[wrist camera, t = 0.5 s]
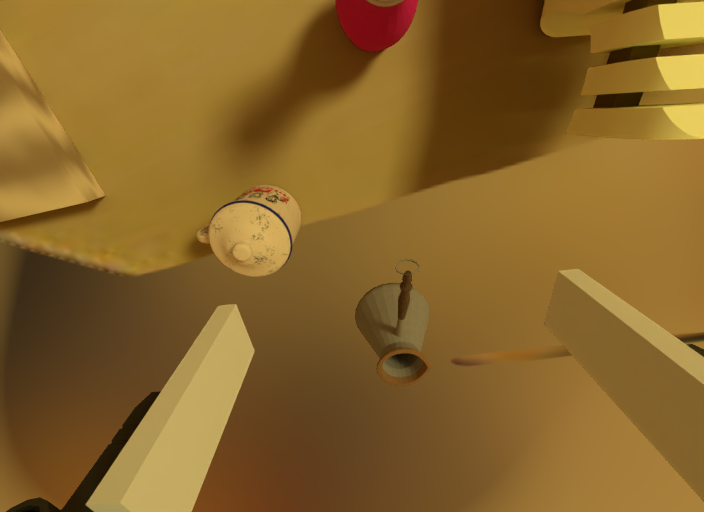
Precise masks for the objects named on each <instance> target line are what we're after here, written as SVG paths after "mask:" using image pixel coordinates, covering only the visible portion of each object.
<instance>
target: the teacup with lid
mask: <svg viewBox="0 0 704 512" xmlns="http://www.w3.org/2000/svg"><path fill="white" fill-rule="evenodd" d="M300 225H301V212H300V209H299V206H298V204H297V202H296V201H295V199H294V198H293V197H292V196H291V195H290V194H289V193H288V192H286V191H285V190H283V189H281V188H279V187H276V186H273V185H258V186H255V187H252V188H250V189H249V190H247V191H246V192H245V193H243V194H242V195H241V196H240V197H238V198H237V199H236V200H234V201H233V202H231V203H228V204H226V205H224V206H223V207H221V208H220V209H219V210H218V211H217V212H216V213H215V214H214V216H213V217H212V219H211V222H210V224H209V225H207V226H204V227H203V228H201V229H200V230H198V231H197V233H196V236H197V239H198V240H199V241H200V242H202V243H210V246H211V248H212V250H213V252H214V254H215V255H216V257H217V258H218V259H219V260H220V262H221V263H223V264H224V265H225V266H226V267H228V268H229V269H231V270H232V271H234V272H236V273H239V274H242V275H246V276H254V277H256V276H265V275H269V274H271V273H274V272H276V271H277V270H279V269H280V268H281V267H283V266H284V264H285V263H286V262H287V260H288V259H289V257H290V254H291V251H292V244H293V242H294V240H295V238H296V235H297V233H298V231H299V229H300Z"/></svg>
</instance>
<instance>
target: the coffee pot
mask: <svg viewBox="0 0 704 512" xmlns="http://www.w3.org/2000/svg"><path fill="white" fill-rule="evenodd" d="M402 261H412V262H414V263H416V264H417V265H418V270H417V271H415V272H413V273H411V272H410V271H406V272H405V273H402V272H400V271H398V269H397V268H396V266H397V264H398V263H400V262H402ZM396 266H395V269H396V270H397V272H398V273H400V274H402V275H404V276H403V282H402V283H388V284H382V285H380V286H377V287H375V288H373V289H371V290H370V291H369V292H367V293H366V294H365V295H364V297H363V298H362V299H361V300H360V302H359V304H358V306H357V308H356V314H355V319H356V323H357V326H358V328H359V329H360V331H361V333H362V334H363V335H364V337H365V338H366V340H367V341H368V342H369V344H370V345H371V346H372V348H373V349H374V351H375V352H376V354H377V355H378V356H379V358H380V360H379V362H378V364H377V373H378V375H379V376H380V378H381V379H382V380H383V381H385V382H386V383H389V384H391V385H396V386H404V385H410V384H413V383H416V382H418V381H420V380H421V379H422V378H423V377H424V376H425V375H426V374H427V373H428V372H429V370H430V369H431V364H430V362H429V361H428V359H427V358H426V356H425V355H424V354H422V353H421V352H420V351H421V347H422V344H423V339H424V335H425V331H426V327H427V323H428V319H429V306H428V303H427V301H426V299H425V298H424V297H423V296H422V295H421V294H420V292H418V291H417V290H415V289H413V288H412V284H411V281H412V274H415V273H416V272H418V271H419V264H418V263H417V262H416V261H414V260H412V259H403V260H400V261H399V262H397V263H396Z"/></svg>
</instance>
